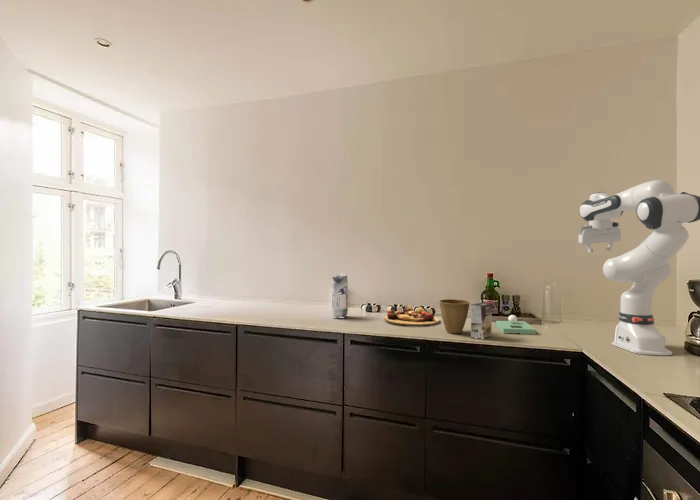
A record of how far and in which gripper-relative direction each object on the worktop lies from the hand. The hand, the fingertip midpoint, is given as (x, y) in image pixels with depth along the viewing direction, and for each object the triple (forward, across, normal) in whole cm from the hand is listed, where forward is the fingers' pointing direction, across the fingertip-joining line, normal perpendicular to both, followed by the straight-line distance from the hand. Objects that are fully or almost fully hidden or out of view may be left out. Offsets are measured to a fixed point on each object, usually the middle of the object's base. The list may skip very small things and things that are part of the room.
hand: (599, 251), depth 198 cm
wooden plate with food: (+36, -94, +28) cm, 105 cm away
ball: (+33, -43, +7) cm, 55 cm away
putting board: (+37, -45, +2) cm, 58 cm away
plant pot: (+34, -78, -2) cm, 85 cm away
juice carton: (+34, -136, +42) cm, 146 cm away
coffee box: (+34, -68, -12) cm, 77 cm away
